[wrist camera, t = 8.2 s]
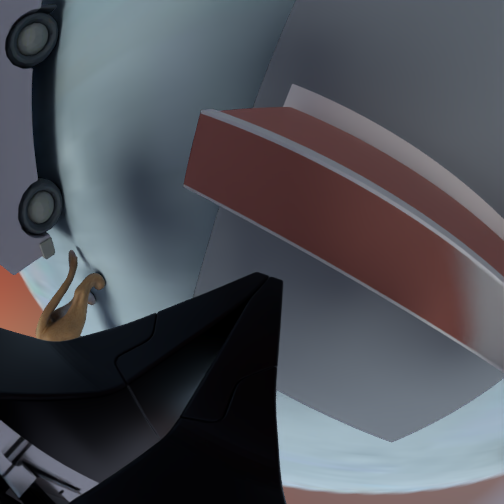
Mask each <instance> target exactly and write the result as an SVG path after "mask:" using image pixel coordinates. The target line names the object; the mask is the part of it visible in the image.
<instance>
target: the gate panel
mask: <svg viewBox="0 0 504 504" xmlns="http://www.w3.org/2000/svg"><path fill="white" fill-rule="evenodd" d="M183 187H184V188H186V189H188V190H190V191H192V192H194V193H196V194H198V195H200V196H202V197H204V198H206V199H207V200H209V201H211V202H213V203H215V204H217V205H219V206H221V207H223V208H224V209H226V210H228V211H230V212H232V213H234V214H236V215H237V216H239V217H241V218H243V219H245V220H247V221H249V222H250V223H252V224H254V225H256V226H258V227H260V228H261V229H263V230H265V231H267V232H269V233H271V234H272V235H274V236H276V237H278V238H280V239H281V240H283V241H285V242H287V243H289V244H290V245H292V246H294V247H296V248H298V249H299V250H301V251H303V252H305V253H307V254H308V255H310V256H312V257H314V258H315V259H317V260H319V261H321V262H322V263H324V264H326V265H328V266H330V267H331V268H333V269H335V270H337V271H338V272H340V273H342V274H343V275H345V276H347V277H349V278H350V279H352V280H354V281H356V282H357V283H359V284H361V285H362V286H364V287H366V288H368V289H369V290H371V291H373V292H374V293H376V294H378V295H379V296H381V297H383V298H385V299H386V300H388V301H390V302H391V303H393V304H395V305H396V306H398V307H400V308H401V309H403V310H405V311H406V312H408V313H410V314H411V315H413V316H415V317H416V318H418V319H419V320H421V321H423V322H424V323H426V324H428V325H429V326H431V327H433V328H434V329H436V330H437V331H439V332H441V333H442V334H444V335H445V336H447V337H449V338H450V339H452V340H453V341H455V342H457V343H458V344H460V345H461V346H463V347H465V348H466V349H468V350H469V351H471V352H472V353H474V354H476V355H477V356H479V357H480V358H482V359H483V360H485V361H486V362H488V363H489V364H491V365H493V366H494V367H496V368H497V369H499V370H500V371H502V372H503V373H504V241H503V240H502V239H501V238H500V237H499V236H498V235H497V234H496V233H495V232H494V231H492V230H491V229H490V228H489V227H488V226H487V225H486V224H484V223H483V222H482V221H481V220H480V219H479V218H477V217H476V216H475V215H474V214H473V213H471V212H470V211H469V210H468V209H466V208H465V207H464V206H463V205H461V204H460V203H459V202H457V201H456V200H455V199H453V198H452V197H451V196H449V195H448V194H447V193H445V192H444V191H443V190H441V189H440V188H438V187H437V186H436V185H434V184H433V183H431V182H430V181H428V180H427V179H425V178H424V177H422V176H421V175H419V174H418V173H416V172H415V171H413V170H412V169H410V168H409V167H407V166H405V165H404V164H402V163H400V162H399V161H397V160H396V159H394V158H392V157H391V156H389V155H387V154H385V153H384V152H382V151H380V150H378V149H377V148H375V147H373V146H371V145H369V144H368V143H366V142H364V141H362V140H360V139H358V138H356V137H354V136H353V135H351V134H349V133H347V132H345V131H343V130H341V129H339V128H337V127H334V126H332V125H330V124H328V123H326V122H324V121H322V120H319V119H317V118H315V117H313V116H311V115H308V114H306V113H304V112H301V111H299V110H296V109H294V108H292V107H266V108H248V109H235V110H224V111H217V110H214V109H206V110H201V112H200V116H199V120H198V124H197V128H196V132H195V136H194V140H193V144H192V148H191V153H190V157H189V161H188V166H187V170H186V175H185V180H184V185H183Z"/></svg>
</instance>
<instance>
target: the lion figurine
mask: <svg viewBox="0 0 504 504" xmlns="http://www.w3.org/2000/svg"><path fill="white" fill-rule="evenodd" d="M69 267H70V269H69V273H68V276H67V278H66V280H65V282H64V283H63V284H62V286H61V287H60V289H59V290H58V291H57V293H56V294H55V295H54V296H53V298H52V299H51V301H50V302H49V303H48V305H47V306H46V308H45V309H44V311H43V313H42V315H41V317H40V319H39V322H38V325H37V328H36V338H38V339H42V340H46V341H66V340H71V339H75V338H78V337H82V336H80V334H81V332H82V329H83V327H84V324H85V320H86V313H87V305H88V304H90V305H94V304H95V302H96V301H95V298H94V296H93V295H92V293H91V292H90V290H91V288H92V287H95V288H96V289H97V290H101V289H102V288H104V286H105V280H104V279H103V277H102V276H101V275H100V274H97V273H92V274H90V275H88V276H87V277H86V278H85V279H84V280H83V281H82V283H81V284H80V285H79V286H78V287H77V289H76V290H75V293H74V297H73V299H72V300H71V301H70V302H69V303H68V304H66V305H65V306H63V307H60V308H58V309H56V310H55V308H56V307H57V305H58V304H59V302H60V300H61V299H62V297H63V296H64V294H65V293H66V291H67V290H68V288H69V286H70V284H71V282H72V281H73V278H74V275H75V272H76V269H77V257H76V255H75V253H74V251H73V250H70V252H69ZM54 310H55V311H54Z"/></svg>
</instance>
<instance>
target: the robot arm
mask: <svg viewBox="0 0 504 504" xmlns="http://www.w3.org/2000/svg"><path fill="white" fill-rule="evenodd" d="M282 299H283V280H281V279H278V278H275V277H269V276H268V275H266V274H263V273H260V272H254V273H252V274H249V275H247V276H245V277H242V278H240V279H237V280H235V281H233V282H230V283H228V284H225V285H223V286H221V287H218V288H216V289H213V290H211V291H208V292H206V293H204V294H201V295H199V296H196V297H194V298H191V299H189V300H186V301H184V302H182V303H179V304H177V305H174V306H172V307H169V308H167V309H164V310H162V311H159V312H158V313H157V314H156V313H154V314H151V315H149V316H146V317H144V318H141V319H138V320H136V321H133V322H130V323H127V324H124V325H121V326H118V327H114V328H111V329H108V330H104V331H101V332H97V333H93V334H90V335H86V336H82V337H78V338H75V339H71V340H66V341H46V340H42V339H38V338H34V337H30V336H26V335H22V334H19V333H16V332H12V331H9V330H6V329H2V328H0V504H286V501H285V496H284V492H283V487H282V480H281V472H280V460H279V446H278V432H277V419H276V382H277V370H278V369H277V367H278V356H279V343H280V329H281V314H282Z"/></svg>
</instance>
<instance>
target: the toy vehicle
mask: <svg viewBox="0 0 504 504" xmlns="http://www.w3.org/2000/svg"><path fill="white" fill-rule="evenodd" d="M41 3H42V0H0V265H2V266H3V267H4V268H5V269H6V270H8V271H9V272H10V273H11V274H13V275H15V274H17V273H18V272H19V271H21V270H22V269H24V268H25V267H27V266H28V265H29V264H31V263H32V262H34V261H35V260H37V259H38V258H40V257H41V256H43V257H44V258H45V259H48V258H50V257H51V256H52V255H54V253H55V249H54V246H53V242H52V238H51V237H50V235H49V234H48V233H47V232H46V231H48V230H50V229H51V228H52V227H53V226H54V225H55V224H56V222H57V221H58V219H59V217H60V215H61V211H62V207H63V205H62V195H61V192H60V190H59V188H58V187H57V185H55V184H54V183H53V182H52V181H50V180H47V179H38V176H37V169H36V161H35V152H34V142H33V128H32V70H33V68H29V67H33V66H35V65H37V64H38V63H40V62H42V61H43V60H44V59H45V58H46V57H47V56H48V55H49V54H50V53H51V51H52V50H53V48H54V47H55V44H56V41H57V38H58V28H57V22H56V21H55V20H54V19H53V18H52V17H51V16H50V15H48V14H50V13H51V12H52V11H53V10H55V9H56V4H48V5H41ZM36 53H37V54H36ZM30 55H32V56H30ZM24 68H29V69H24ZM44 190H45V191H44ZM46 191H47V192H46Z"/></svg>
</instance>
